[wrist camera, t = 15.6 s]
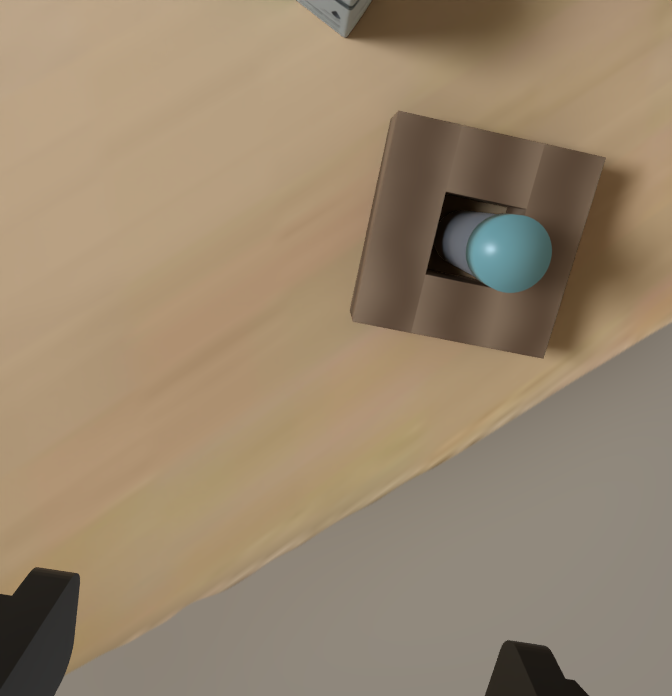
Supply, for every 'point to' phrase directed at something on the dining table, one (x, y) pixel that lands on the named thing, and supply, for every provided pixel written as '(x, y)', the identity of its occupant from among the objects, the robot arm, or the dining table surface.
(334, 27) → the ink box
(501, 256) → the peg
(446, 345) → the dining table surface
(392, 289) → the socket
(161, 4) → the dining table surface
